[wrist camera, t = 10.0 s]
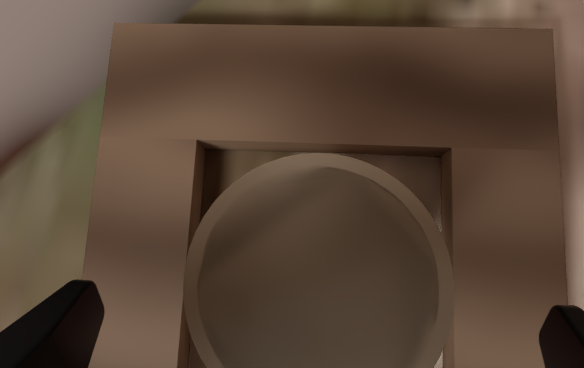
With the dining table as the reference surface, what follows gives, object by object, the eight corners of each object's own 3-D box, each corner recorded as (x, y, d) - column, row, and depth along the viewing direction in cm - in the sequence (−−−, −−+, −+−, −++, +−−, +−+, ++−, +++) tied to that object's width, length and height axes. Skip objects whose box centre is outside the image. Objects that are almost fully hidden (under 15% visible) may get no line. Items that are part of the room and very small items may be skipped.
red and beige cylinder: (409, 312, 18) (503, 364, 9) (279, 366, 17) (239, 476, 9) (352, 184, 18) (385, 113, 10) (229, 235, 18) (147, 211, 10)
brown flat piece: (559, 570, 16) (584, 602, 14) (71, 526, 17) (47, 551, 15) (534, 47, 19) (552, 28, 18) (128, 40, 20) (114, 22, 19)
